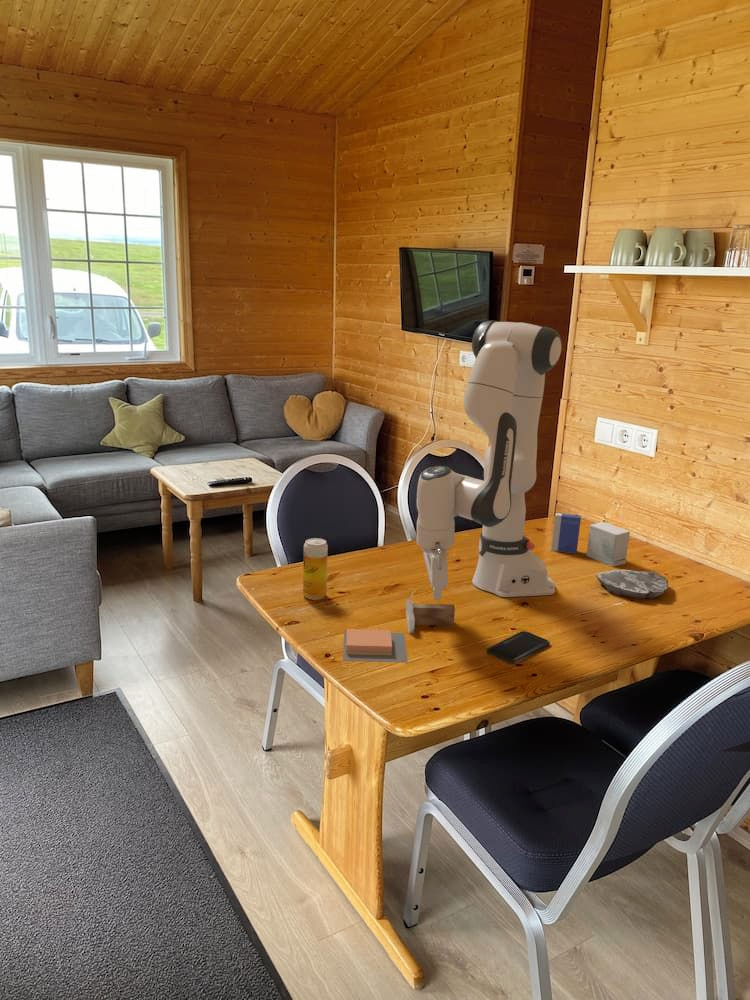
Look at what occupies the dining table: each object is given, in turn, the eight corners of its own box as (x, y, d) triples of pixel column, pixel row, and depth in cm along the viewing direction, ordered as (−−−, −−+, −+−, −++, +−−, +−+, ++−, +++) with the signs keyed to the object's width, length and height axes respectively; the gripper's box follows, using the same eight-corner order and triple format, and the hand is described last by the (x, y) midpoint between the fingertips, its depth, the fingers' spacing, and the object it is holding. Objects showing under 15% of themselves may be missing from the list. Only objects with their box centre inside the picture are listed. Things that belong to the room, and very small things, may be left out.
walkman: (576, 550, 240) (581, 514, 237) (576, 553, 238) (581, 517, 234) (551, 547, 242) (555, 511, 239) (550, 550, 240) (554, 514, 236)
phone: (551, 641, 177) (513, 661, 167) (551, 646, 177) (512, 666, 167) (523, 630, 182) (484, 648, 172) (523, 634, 183) (484, 653, 173)
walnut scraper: (450, 614, 191) (451, 596, 189) (455, 636, 179) (457, 617, 178) (405, 613, 190) (406, 595, 189) (408, 635, 179) (409, 615, 178)
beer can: (299, 593, 200) (300, 538, 196) (321, 590, 202) (323, 536, 198) (307, 602, 194) (308, 546, 190) (329, 599, 197) (331, 544, 193)
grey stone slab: (618, 605, 202) (619, 594, 201) (587, 580, 218) (589, 570, 217) (684, 601, 206) (686, 591, 205) (649, 577, 222) (651, 568, 221)
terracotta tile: (390, 630, 175) (347, 628, 175) (392, 646, 167) (346, 645, 167) (390, 638, 176) (346, 637, 175) (391, 655, 168) (346, 653, 168)
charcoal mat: (403, 635, 179) (403, 633, 179) (407, 664, 165) (407, 662, 165) (344, 633, 178) (344, 631, 178) (342, 662, 165) (342, 660, 165)
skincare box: (585, 556, 236) (589, 524, 233) (599, 553, 240) (603, 521, 237) (611, 567, 228) (616, 534, 225) (626, 563, 231) (631, 531, 228)
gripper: (454, 551, 169) (453, 608, 173) (443, 521, 188) (443, 574, 192) (426, 552, 169) (426, 609, 173) (418, 522, 188) (418, 574, 192)
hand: (435, 590), depth 183 cm, fingers open, 8 cm apart
